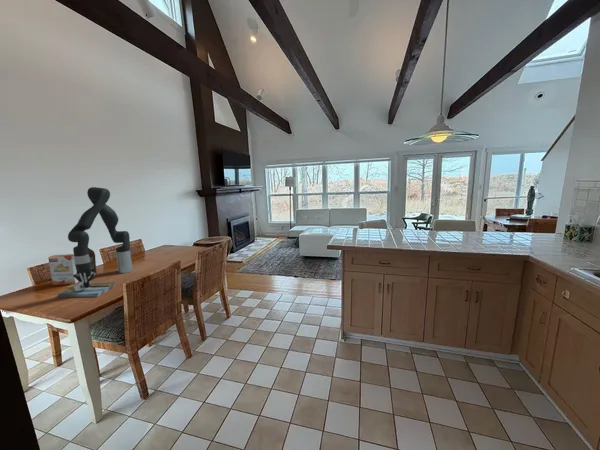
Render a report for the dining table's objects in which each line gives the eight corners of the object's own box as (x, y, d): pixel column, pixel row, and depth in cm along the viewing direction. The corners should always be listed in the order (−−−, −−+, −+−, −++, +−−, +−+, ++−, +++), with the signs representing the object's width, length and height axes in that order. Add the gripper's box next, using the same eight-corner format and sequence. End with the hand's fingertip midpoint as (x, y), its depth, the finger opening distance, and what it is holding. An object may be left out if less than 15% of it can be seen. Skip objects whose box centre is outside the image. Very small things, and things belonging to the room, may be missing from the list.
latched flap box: (80, 286, 176) (79, 278, 175) (115, 285, 177) (115, 278, 176) (58, 297, 159) (57, 289, 158) (97, 296, 160) (96, 288, 159)
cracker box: (52, 285, 177) (47, 256, 173) (58, 282, 183) (54, 254, 179) (75, 284, 179) (70, 255, 176) (80, 281, 185) (76, 253, 182)
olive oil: (79, 273, 200) (75, 243, 196) (96, 270, 207) (92, 241, 203) (80, 277, 192) (76, 245, 188) (98, 274, 200) (94, 243, 196)
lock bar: (86, 283, 173) (85, 278, 173) (91, 282, 174) (91, 277, 174) (75, 291, 160) (74, 285, 160) (80, 290, 161) (79, 285, 161)
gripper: (97, 259, 166) (101, 284, 169) (75, 260, 165) (80, 285, 167) (89, 263, 159) (94, 289, 162) (66, 264, 157) (71, 290, 160)
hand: (87, 287), depth 165 cm, fingers closed
